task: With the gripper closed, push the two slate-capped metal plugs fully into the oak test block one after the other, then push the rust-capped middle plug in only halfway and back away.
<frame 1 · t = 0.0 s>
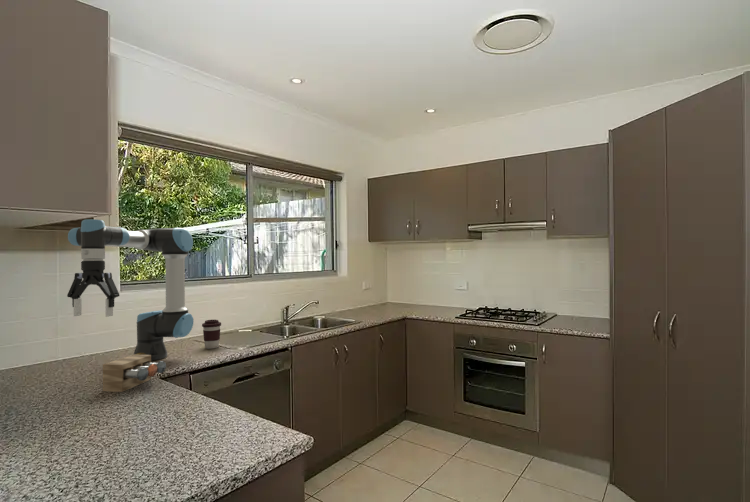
hand: (93, 316, 159), 28 cm above the counter, fingers open, 13 cm apart
plug b: (147, 366, 169), point 6 cm above the counter, slide at 0.0 cm
plug rust: (138, 370, 164), point 6 cm above the counter, slide at 0.0 cm
coffee cup: (211, 347, 232), on the counter
test block: (128, 385, 164), on the counter
plug a: (128, 373, 158), point 6 cm above the counter, slide at 0.0 cm
potato: (132, 372, 183), on the counter
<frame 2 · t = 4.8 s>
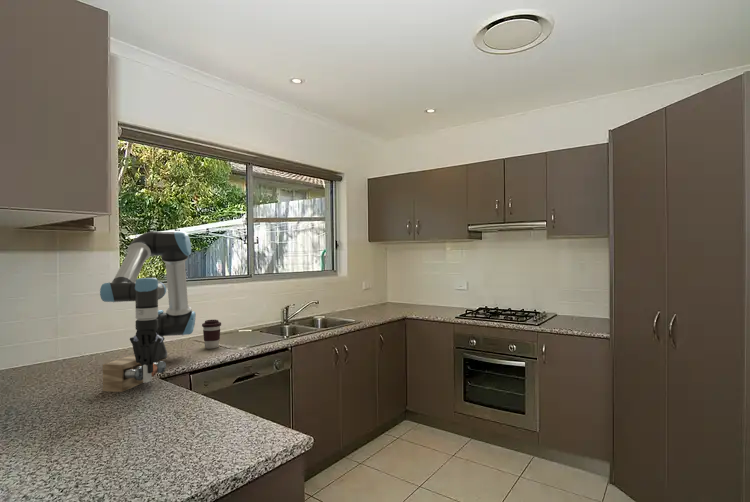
hand: (147, 381, 157), 3 cm above the counter, fingers closed
plug a: (125, 373, 159), point 6 cm above the counter, slide at 1.2 cm, touching gripper
everything else where it was.
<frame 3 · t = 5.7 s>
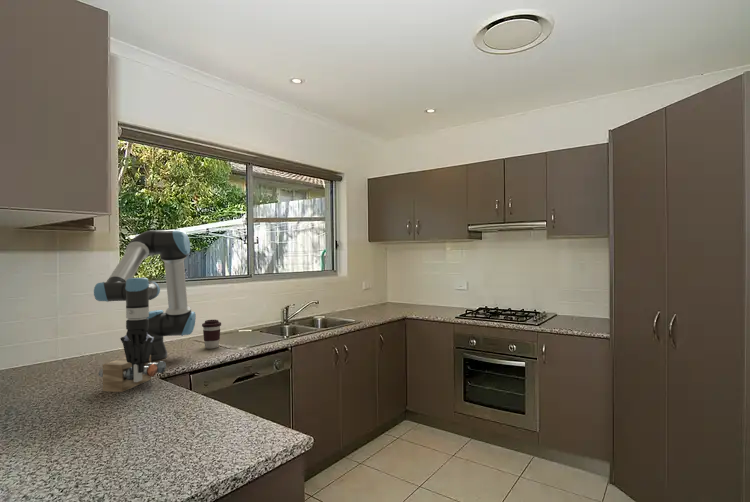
hand: (138, 381, 158), 3 cm above the counter, fingers closed
plug a: (116, 373, 159), point 6 cm above the counter, slide at 5.0 cm, touching gripper
everything else where it was.
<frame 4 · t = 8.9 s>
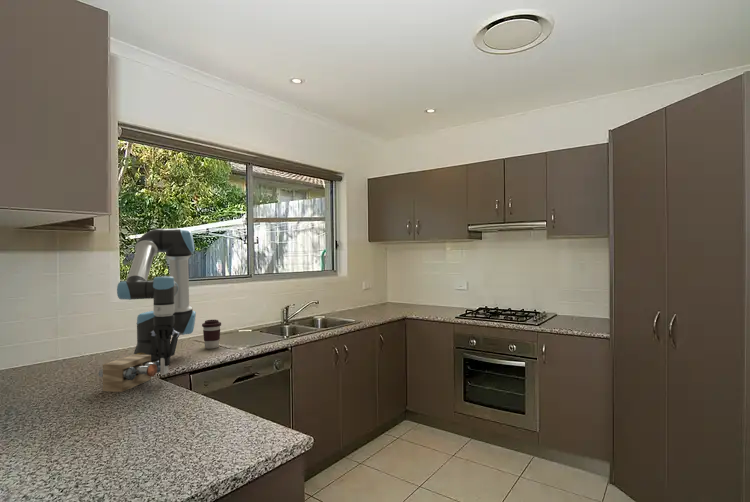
hand: (164, 373, 168), 3 cm above the counter, fingers closed
plug b: (144, 366, 169), point 6 cm above the counter, slide at 1.6 cm, touching gripper
plug a: (116, 373, 159), point 6 cm above the counter, slide at 5.1 cm
everything else where it was.
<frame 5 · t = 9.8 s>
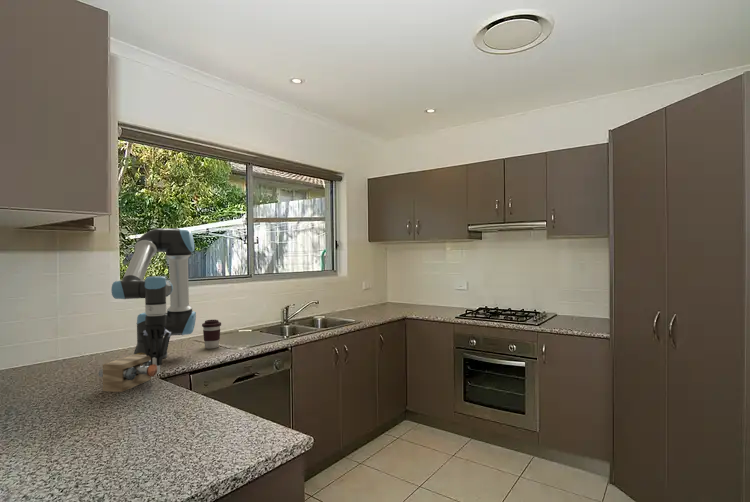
hand: (156, 373, 168), 3 cm above the counter, fingers closed
plug b: (136, 366, 169), point 6 cm above the counter, slide at 5.0 cm, touching gripper
everything else where it was.
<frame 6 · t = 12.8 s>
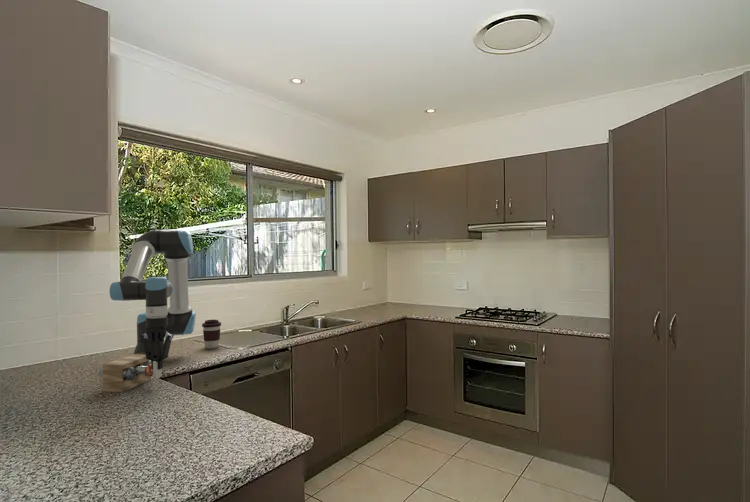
hand: (157, 377, 162), 3 cm above the counter, fingers closed
plug b: (136, 366, 169), point 6 cm above the counter, slide at 5.1 cm
plug rust: (136, 369, 164), point 6 cm above the counter, slide at 0.9 cm, touching gripper
everything else where it was.
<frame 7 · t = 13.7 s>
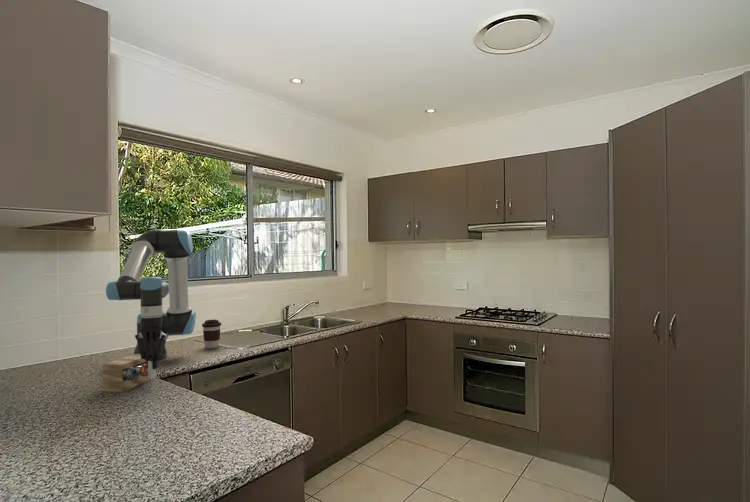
hand: (152, 377, 163), 3 cm above the counter, fingers closed
plug rust: (131, 369, 164), point 6 cm above the counter, slide at 3.0 cm, touching gripper
everything else where it was.
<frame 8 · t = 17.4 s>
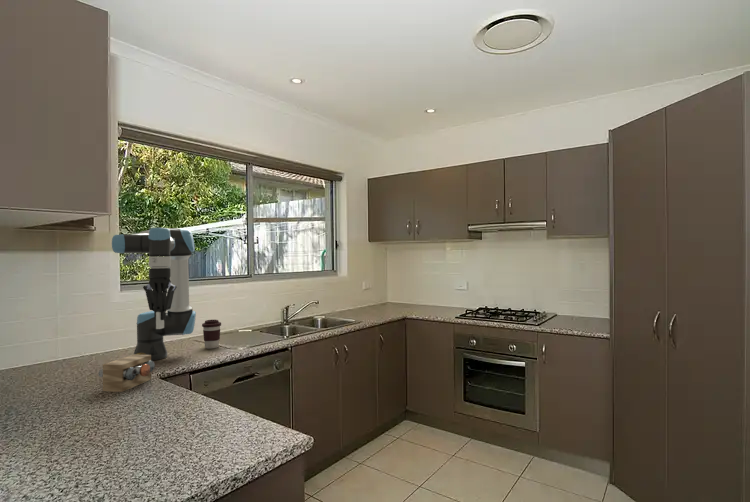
hand: (160, 328, 162), 22 cm above the counter, fingers closed
plug rust: (131, 369, 164), point 6 cm above the counter, slide at 3.1 cm
everything else where it was.
at the end: plug a slide at 5.1 cm; plug b slide at 5.1 cm; plug rust slide at 3.1 cm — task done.
